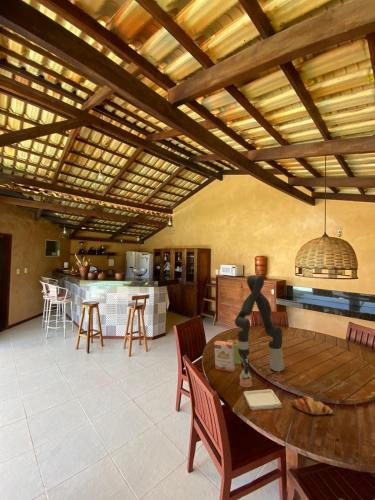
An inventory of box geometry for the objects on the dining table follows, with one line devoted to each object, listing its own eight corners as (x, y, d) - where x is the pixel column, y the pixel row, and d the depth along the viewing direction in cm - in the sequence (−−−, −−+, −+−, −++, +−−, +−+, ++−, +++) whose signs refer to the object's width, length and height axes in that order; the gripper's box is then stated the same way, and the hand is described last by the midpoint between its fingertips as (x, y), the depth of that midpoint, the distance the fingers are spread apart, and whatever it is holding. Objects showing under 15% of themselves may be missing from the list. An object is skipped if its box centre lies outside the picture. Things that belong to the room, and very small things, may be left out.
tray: (271, 392, 146) (271, 389, 146) (281, 407, 132) (281, 403, 132) (243, 395, 145) (243, 391, 145) (250, 410, 131) (250, 406, 131)
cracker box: (215, 369, 178) (213, 342, 178) (217, 366, 183) (216, 340, 183) (233, 372, 172) (231, 345, 172) (235, 368, 177) (233, 342, 178)
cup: (250, 379, 161) (249, 372, 161) (254, 386, 153) (253, 378, 153) (238, 380, 161) (237, 373, 161) (241, 387, 153) (241, 379, 153)
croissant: (332, 417, 127) (330, 400, 130) (335, 419, 119) (333, 401, 122) (290, 408, 135) (289, 392, 139) (290, 410, 127) (290, 393, 130)
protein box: (247, 364, 183) (246, 345, 184) (228, 363, 187) (226, 344, 187) (246, 358, 194) (245, 339, 194) (228, 357, 197) (227, 339, 197)
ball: (248, 375, 160) (247, 367, 160) (250, 379, 154) (250, 371, 154) (240, 375, 160) (240, 368, 160) (242, 380, 154) (242, 372, 154)
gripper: (252, 350, 150) (253, 375, 150) (245, 342, 165) (246, 365, 164) (241, 351, 150) (242, 376, 150) (235, 343, 164) (236, 365, 164)
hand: (244, 370), depth 157 cm, fingers open, 8 cm apart
